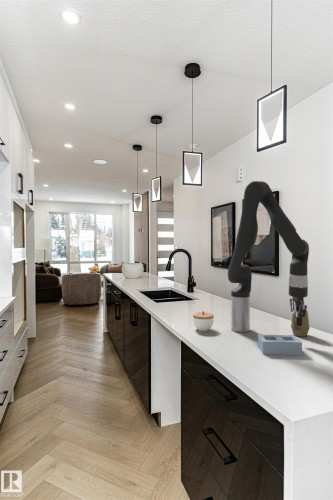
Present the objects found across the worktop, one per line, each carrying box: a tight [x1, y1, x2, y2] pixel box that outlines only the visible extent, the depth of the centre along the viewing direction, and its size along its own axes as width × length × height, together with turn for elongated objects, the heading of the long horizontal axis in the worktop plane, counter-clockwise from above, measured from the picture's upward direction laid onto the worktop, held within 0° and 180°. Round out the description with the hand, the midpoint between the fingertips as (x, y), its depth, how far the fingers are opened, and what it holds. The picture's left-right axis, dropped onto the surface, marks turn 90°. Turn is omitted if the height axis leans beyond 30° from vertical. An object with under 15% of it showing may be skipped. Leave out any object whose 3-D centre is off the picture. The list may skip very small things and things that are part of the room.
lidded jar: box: [192, 310, 215, 332], centre depth 149 cm, size 11×11×9 cm
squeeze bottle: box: [290, 309, 310, 338], centre depth 138 cm, size 8×8×18 cm
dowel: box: [294, 306, 301, 330], centre depth 126 cm, size 3×3×10 cm
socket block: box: [257, 334, 303, 356], centre depth 118 cm, size 9×15×5 cm, turn 84°
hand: (297, 324), depth 126 cm, fingers closed on dowel, 3 cm apart
